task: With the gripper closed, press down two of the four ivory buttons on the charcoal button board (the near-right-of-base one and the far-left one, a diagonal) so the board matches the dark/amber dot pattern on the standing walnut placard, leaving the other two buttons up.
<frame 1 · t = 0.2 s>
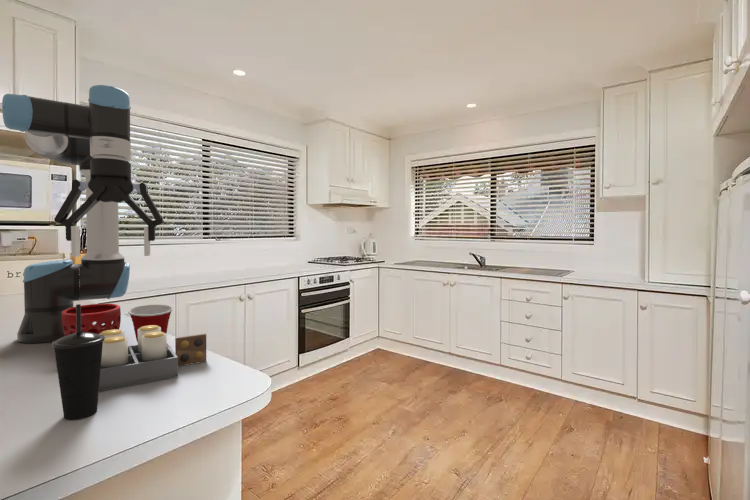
hand: (112, 256, 88), 27 cm above the worktop, tool pointing down, fingers open, 13 cm apart
button D: (154, 345, 91), point 7 cm above the worktop, slide at 0.0 cm
plant pot: (92, 351, 109), on the worktop
button board: (133, 373, 93), on the worktop
plastic cup: (151, 351, 110), on the worktop
drinking cup: (80, 414, 72), on the worktop
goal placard: (191, 363, 100), on the worktop
button C: (114, 351, 87), point 7 cm above the worktop, slide at 0.0 cm
button B: (149, 337, 98), point 7 cm above the worktop, slide at 0.0 cm
button A: (111, 342, 93), point 7 cm above the worktop, slide at 0.0 cm
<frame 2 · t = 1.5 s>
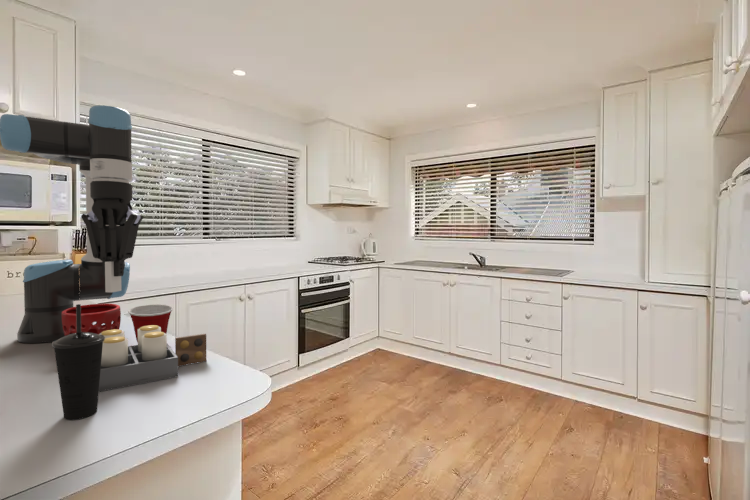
hand: (113, 291, 86), 20 cm above the worktop, tool pointing down, fingers closed
nothing on the worktop moved.
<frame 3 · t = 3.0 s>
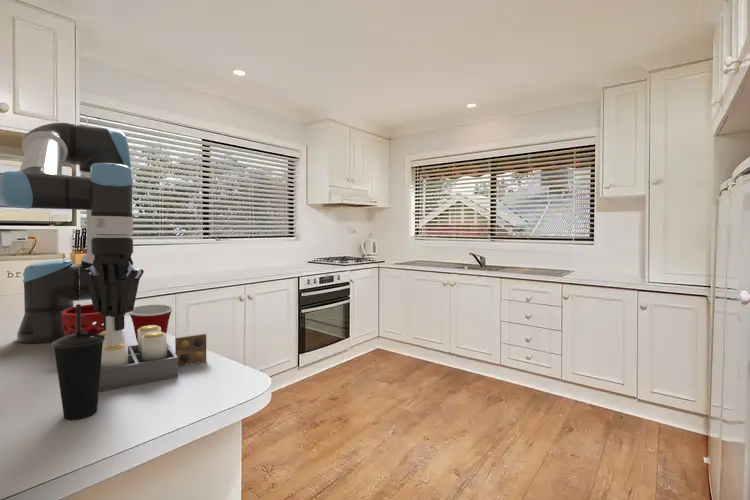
hand: (114, 344, 87), 8 cm above the worktop, tool pointing down, fingers closed
button C: (114, 358, 87), point 5 cm above the worktop, slide at 1.5 cm, touching gripper
everything else where it was.
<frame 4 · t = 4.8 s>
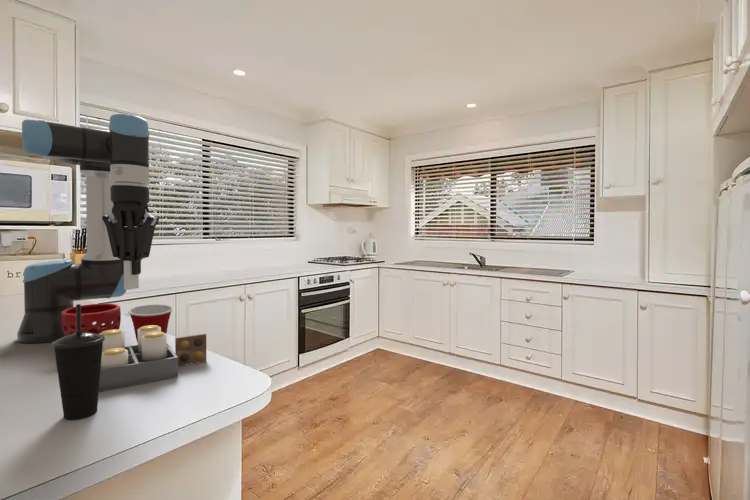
hand: (131, 288, 92), 20 cm above the worktop, tool pointing down, fingers closed
button C: (114, 362, 87), point 4 cm above the worktop, slide at 2.6 cm
everything else where it was.
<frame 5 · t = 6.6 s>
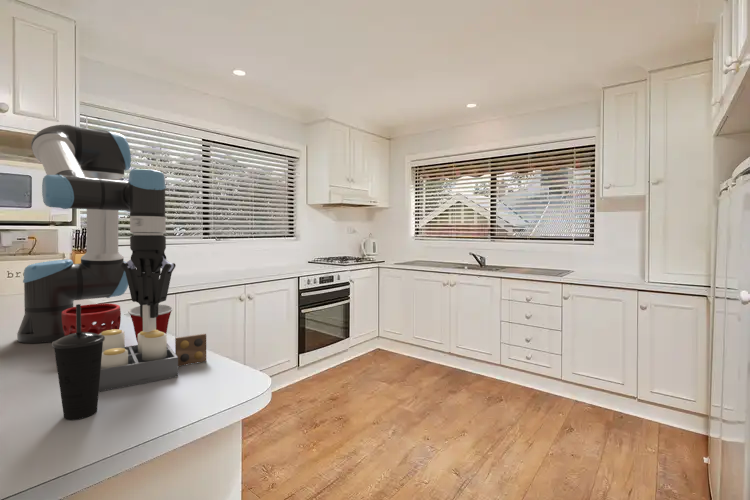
hand: (149, 330, 97), 9 cm above the worktop, tool pointing down, fingers closed
button B: (149, 342, 98), point 6 cm above the worktop, slide at 1.1 cm, touching gripper
everything else where it was.
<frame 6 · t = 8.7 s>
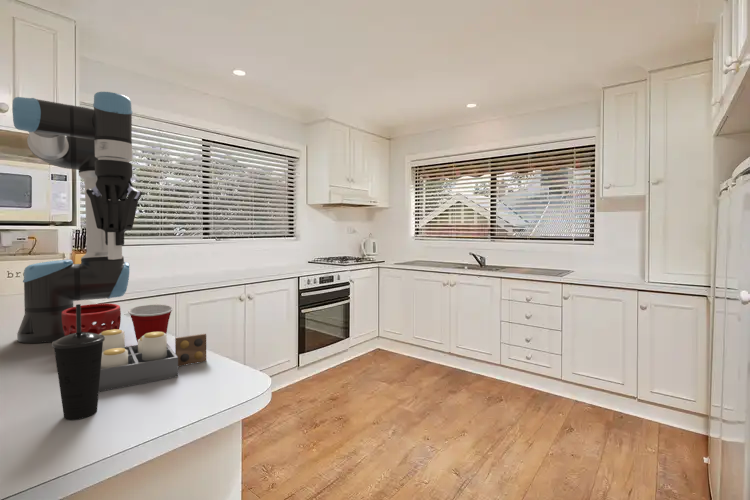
hand: (115, 258, 97), 26 cm above the worktop, tool pointing down, fingers closed
button B: (149, 348, 98), point 4 cm above the worktop, slide at 2.6 cm
everything else where it was.
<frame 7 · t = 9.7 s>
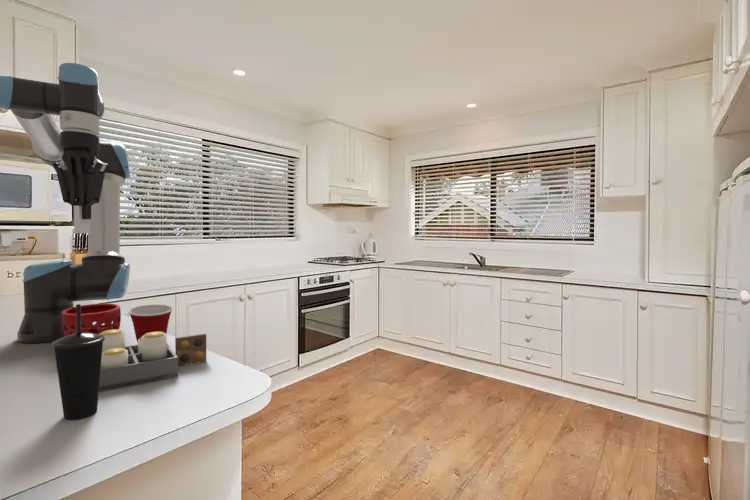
hand: (82, 233, 95), 32 cm above the worktop, tool pointing down, fingers closed
nothing on the worktop moved.
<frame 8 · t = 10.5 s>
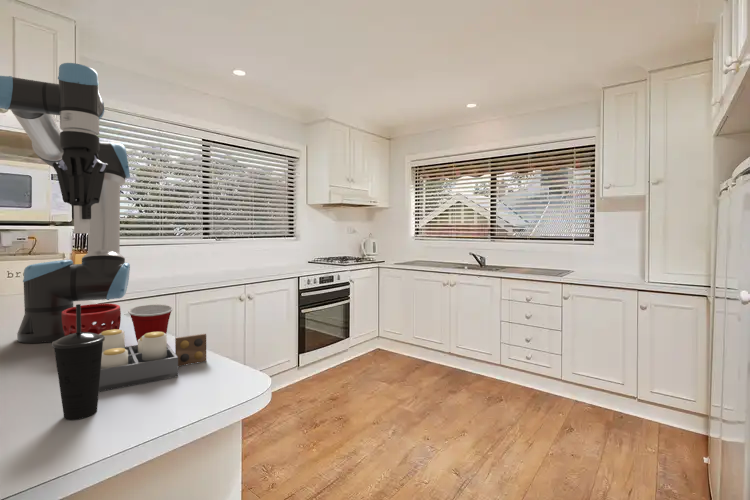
hand: (82, 233, 95), 32 cm above the worktop, tool pointing down, fingers closed
nothing on the worktop moved.
at the end: button C slide at 2.6 cm; button B slide at 2.6 cm; button A slide at 0.0 cm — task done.
